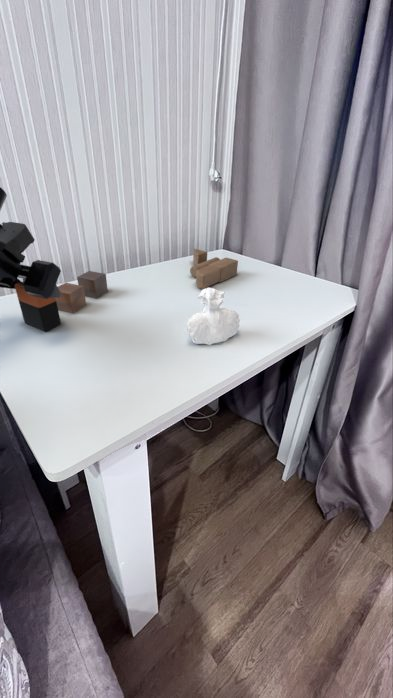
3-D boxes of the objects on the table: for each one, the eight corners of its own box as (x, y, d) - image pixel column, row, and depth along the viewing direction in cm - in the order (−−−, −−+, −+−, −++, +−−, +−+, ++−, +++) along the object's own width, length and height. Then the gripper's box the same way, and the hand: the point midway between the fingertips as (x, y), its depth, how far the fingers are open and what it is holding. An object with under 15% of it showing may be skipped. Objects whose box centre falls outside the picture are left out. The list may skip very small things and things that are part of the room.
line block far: (96, 299, 83) (94, 280, 80) (79, 295, 84) (76, 276, 82) (107, 292, 87) (105, 273, 84) (91, 288, 88) (89, 270, 86)
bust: (233, 339, 73) (221, 290, 74) (251, 334, 66) (238, 280, 67) (184, 351, 69) (171, 298, 69) (198, 346, 62) (184, 288, 62)
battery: (45, 333, 68) (34, 287, 63) (23, 324, 71) (11, 279, 66) (62, 324, 71) (53, 280, 66) (41, 316, 74) (30, 273, 69)
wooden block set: (240, 256, 99) (205, 271, 87) (238, 274, 102) (203, 291, 90) (195, 244, 107) (157, 257, 95) (195, 261, 110) (158, 275, 98)
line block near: (73, 314, 76) (69, 293, 73) (55, 309, 77) (51, 289, 74) (86, 305, 80) (83, 286, 77) (69, 301, 81) (65, 282, 78)
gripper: (41, 215, 53) (92, 263, 67) (-44, 203, 58) (20, 250, 73) (15, 278, 51) (73, 313, 65) (-71, 260, 56) (1, 296, 71)
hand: (41, 291), depth 69 cm, fingers open, 9 cm apart
